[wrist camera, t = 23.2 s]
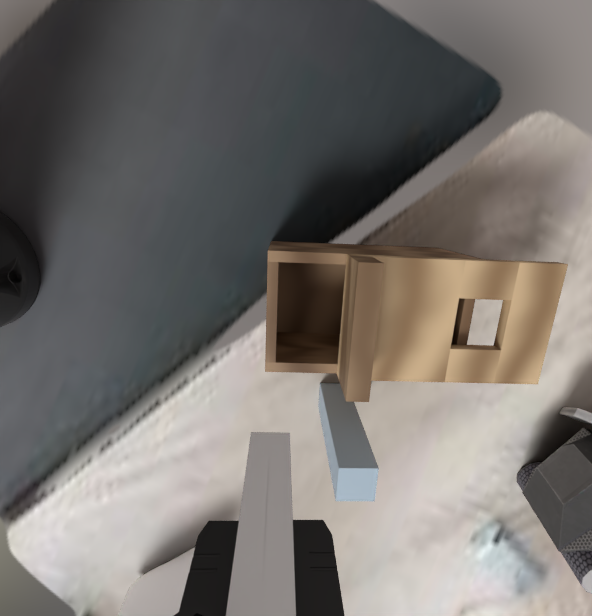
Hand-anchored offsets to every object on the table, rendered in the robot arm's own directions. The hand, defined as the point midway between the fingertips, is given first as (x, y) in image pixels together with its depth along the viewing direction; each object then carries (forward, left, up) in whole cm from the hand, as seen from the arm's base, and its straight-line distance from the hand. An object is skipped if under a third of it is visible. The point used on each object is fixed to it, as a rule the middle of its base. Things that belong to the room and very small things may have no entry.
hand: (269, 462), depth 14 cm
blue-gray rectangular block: (+16, -3, -30) cm, 34 cm away
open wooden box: (+6, +7, -30) cm, 32 cm away
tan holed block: (+10, +12, -20) cm, 26 cm away
